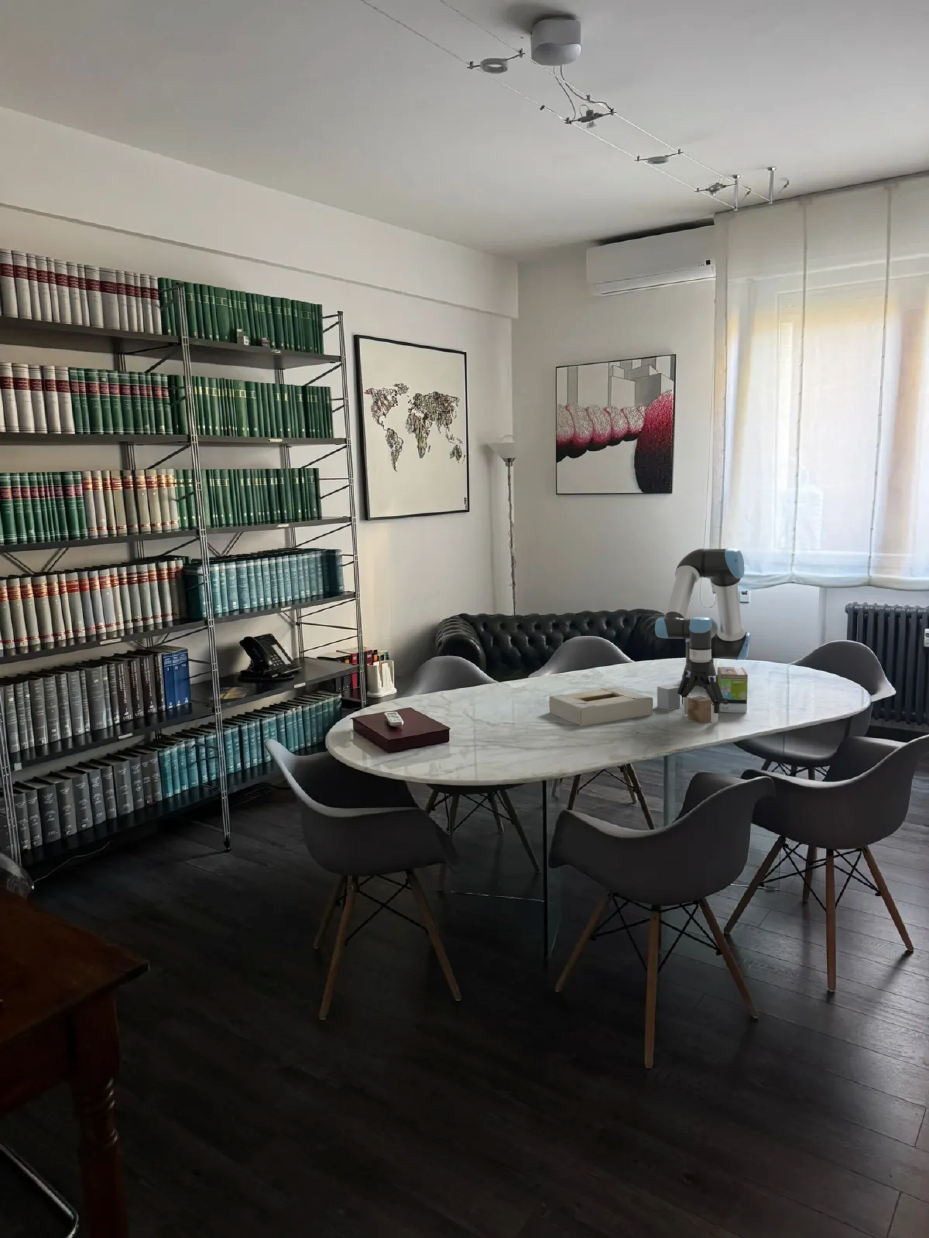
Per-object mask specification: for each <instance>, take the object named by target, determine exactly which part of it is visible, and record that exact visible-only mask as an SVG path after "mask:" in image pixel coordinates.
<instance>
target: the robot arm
mask: <svg viewBox="0 0 929 1238" xmlns="http://www.w3.org/2000/svg"><path fill="white" fill-rule="evenodd" d="M744 575H745V560H744V556H743V553H742V551H741V550H739V548H731V547H727V548H697V549H695V550H692V551H691V552H689V553H688V554H685V556H684V557H683V558H682V559H681V560H680V561H679V563H678V564H677V565H676V569H675V572H674V577H675V580H674V584H673V587H672V591H671V593H670V597H669V601H668V604H667V607H666V610H665V613H664V617H658V618H657V619H656V620H655V625H654V632H655V636H657V637H658V638H662V639H682V640H685V642H684V643H685V665H684V669H683V673H682V675H681V682H680V685H679V686H678V687H679V689H678V692H677V693H678V694H680V697H681V705H682V715H683V716H686V715H687V716H688V698H691V697H690V695H689V694H691V693H692V691H693V689H694V688H695V687H696V686H698V687H702V689H704V690H705V692H706V693H707V695H708V698H710V699H711V701H712V704H711V721H710V722H711V723H717V722H719V713H720V710H719V705H720V704H721V703H724V698H723V696H722V693H721V690H720V687H719V684H718V680H717V671H716V668H715V667H716V666H715V665H714V663H715V662H714V660H715V659H718V660H732V661H738V660H739V661H740V660H741V661H744V660H746V659H747V658H748V655H749V652H750V651H749V650H750V643H751V633H750V632H749V631H748V632H747V631H746V627H744V625H742V617H741V608H740V607H741V606H740V599H739V598H740V597H739V589H738V588H739V587H738V584H739V582H740V581H741V580H742V578H743V577H744ZM702 578H707V579H709V578H710V582H711V584H712V585H713V586H714V587H715V593H716V603H717V612H718V621H719V625H718V622H717V621H716V620H715V619H714V618H711V617H707V616H694V617H691V618H686V616H687V613H688V608H689V606H690V602H691V598H692V595H693V591H694V588H695V585H696V583H698V581H699V580H700V579H702Z"/></svg>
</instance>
